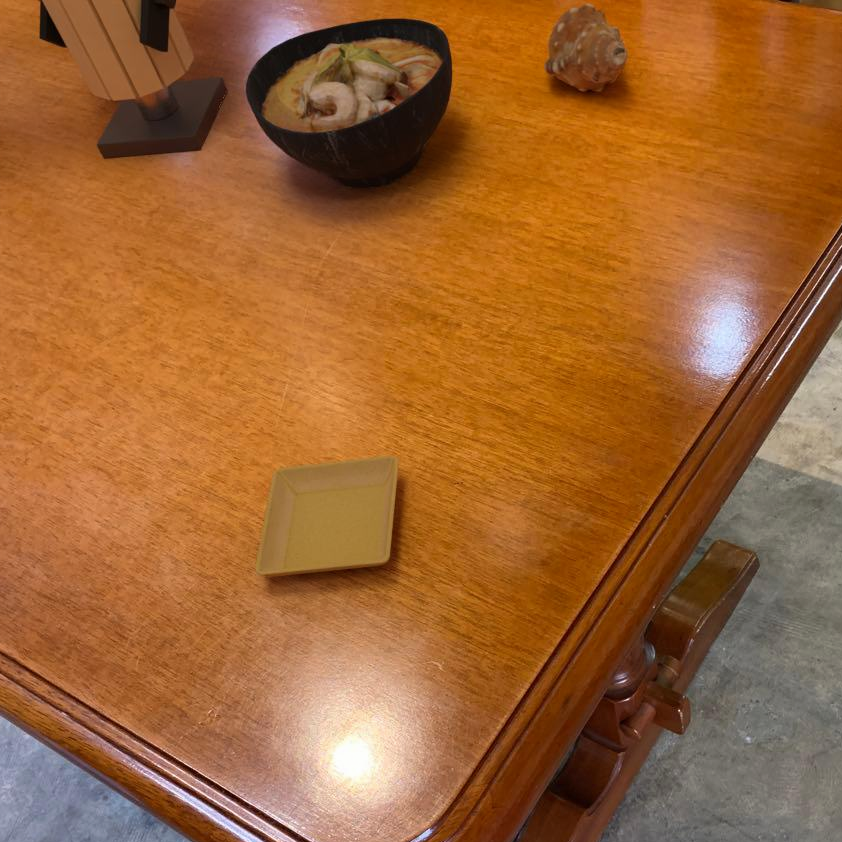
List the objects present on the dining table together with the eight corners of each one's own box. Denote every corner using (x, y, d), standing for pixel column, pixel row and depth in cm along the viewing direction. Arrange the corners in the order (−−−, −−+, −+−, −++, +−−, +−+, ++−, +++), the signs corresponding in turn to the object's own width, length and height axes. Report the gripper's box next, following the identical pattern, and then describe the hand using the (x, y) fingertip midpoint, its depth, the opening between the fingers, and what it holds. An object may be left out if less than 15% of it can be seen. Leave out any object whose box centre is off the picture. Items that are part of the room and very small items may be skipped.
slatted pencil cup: (74, 104, 94) (6, -18, 85) (110, 46, 100) (50, -74, 91) (175, 95, 92) (116, -31, 84) (205, 35, 98) (154, -88, 89)
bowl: (318, 107, 98) (281, 2, 90) (490, 103, 94) (468, -7, 86) (255, 221, 89) (208, 115, 81) (443, 222, 85) (413, 111, 77)
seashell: (650, 92, 97) (667, 23, 87) (586, 144, 96) (596, 80, 86) (584, 23, 98) (594, -52, 88) (520, 74, 97) (523, 3, 87)
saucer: (264, 592, 65) (252, 574, 63) (283, 486, 70) (273, 466, 68) (397, 581, 64) (388, 562, 62) (407, 474, 69) (399, 453, 67)
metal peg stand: (103, 158, 99) (39, 42, 89) (136, 99, 104) (78, -16, 95) (200, 150, 97) (145, 30, 88) (228, 90, 103) (178, -28, 93)
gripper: (254, -218, 87) (237, 62, 91) (41, -206, 94) (35, 53, 98) (197, -269, 80) (182, 36, 84) (-28, -253, 87) (-31, 28, 91)
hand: (103, 45), depth 91 cm, fingers closed on slatted pencil cup, 10 cm apart
